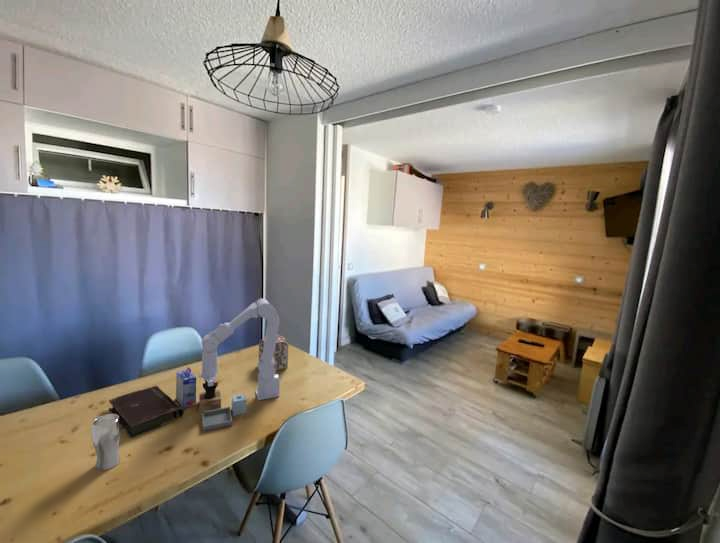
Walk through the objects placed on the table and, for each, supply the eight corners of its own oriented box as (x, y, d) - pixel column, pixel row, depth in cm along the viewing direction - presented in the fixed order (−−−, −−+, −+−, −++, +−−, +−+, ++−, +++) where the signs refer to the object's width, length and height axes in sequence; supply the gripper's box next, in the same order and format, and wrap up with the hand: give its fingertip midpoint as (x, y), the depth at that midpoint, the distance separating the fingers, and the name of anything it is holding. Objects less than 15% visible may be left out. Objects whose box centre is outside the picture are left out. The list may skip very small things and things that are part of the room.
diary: (158, 394, 142) (158, 384, 142) (184, 418, 127) (184, 406, 126) (106, 411, 128) (106, 400, 127) (128, 440, 112) (127, 427, 112)
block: (244, 406, 136) (244, 393, 135) (246, 413, 132) (246, 399, 131) (231, 408, 134) (231, 395, 133) (233, 415, 130) (233, 401, 129)
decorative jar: (258, 365, 175) (258, 333, 172) (277, 360, 183) (278, 329, 180) (268, 373, 166) (269, 340, 163) (288, 367, 174) (289, 336, 171)
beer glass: (104, 455, 105) (101, 413, 102) (126, 455, 105) (124, 413, 103) (88, 472, 98) (85, 427, 95) (112, 471, 98) (110, 427, 96)
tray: (229, 411, 132) (229, 406, 132) (232, 425, 123) (232, 420, 123) (202, 416, 128) (202, 411, 127) (202, 432, 119) (202, 427, 118)
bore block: (219, 397, 141) (219, 389, 141) (221, 407, 134) (221, 398, 134) (199, 401, 138) (199, 392, 137) (199, 411, 131) (199, 402, 130)
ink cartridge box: (197, 404, 136) (196, 372, 134) (182, 408, 132) (182, 375, 130) (189, 394, 143) (189, 363, 141) (175, 398, 139) (174, 367, 137)
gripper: (198, 357, 138) (199, 387, 140) (199, 372, 125) (199, 405, 127) (216, 355, 141) (216, 384, 143) (218, 370, 128) (219, 401, 130)
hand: (210, 394), depth 135 cm, fingers open, 7 cm apart
